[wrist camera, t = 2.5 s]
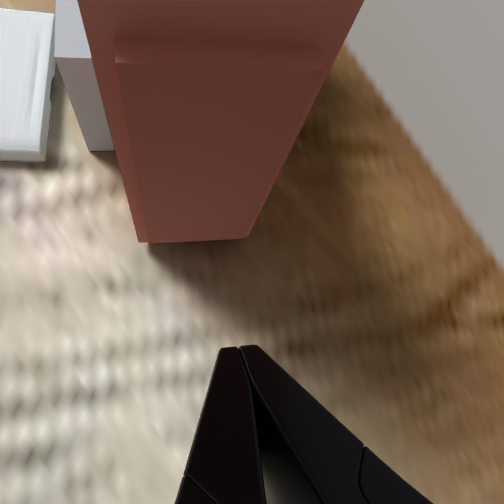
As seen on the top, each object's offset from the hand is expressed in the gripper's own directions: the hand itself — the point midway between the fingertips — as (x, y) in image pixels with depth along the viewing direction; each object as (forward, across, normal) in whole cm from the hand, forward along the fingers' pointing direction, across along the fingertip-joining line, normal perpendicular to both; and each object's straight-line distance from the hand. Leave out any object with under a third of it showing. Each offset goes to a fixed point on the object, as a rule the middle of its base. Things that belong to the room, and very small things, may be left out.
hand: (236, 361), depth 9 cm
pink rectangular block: (+13, 0, 0) cm, 13 cm away
